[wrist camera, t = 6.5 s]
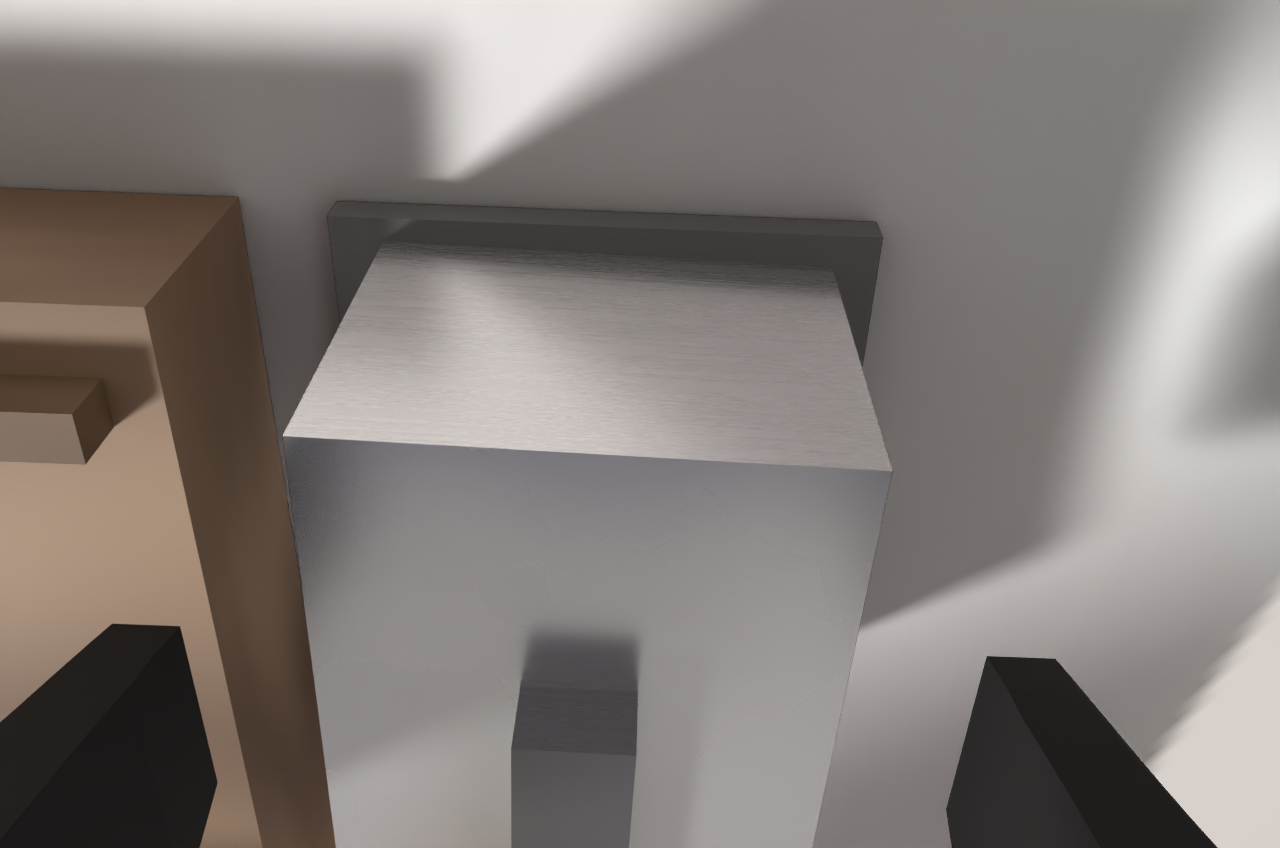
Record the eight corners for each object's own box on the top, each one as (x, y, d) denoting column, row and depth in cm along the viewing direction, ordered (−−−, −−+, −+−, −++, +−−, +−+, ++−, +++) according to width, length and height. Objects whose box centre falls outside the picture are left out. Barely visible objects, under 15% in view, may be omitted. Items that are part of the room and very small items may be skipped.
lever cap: (762, 695, 15) (795, 1021, 11) (412, 676, 15) (329, 998, 11) (832, 267, 12) (910, 528, 8) (383, 239, 11) (254, 491, 8)
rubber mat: (802, 710, 15) (804, 732, 15) (392, 695, 15) (386, 717, 15) (876, 221, 12) (882, 236, 11) (337, 200, 12) (327, 216, 11)
